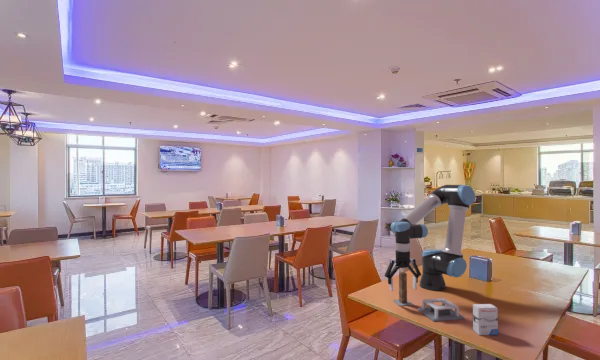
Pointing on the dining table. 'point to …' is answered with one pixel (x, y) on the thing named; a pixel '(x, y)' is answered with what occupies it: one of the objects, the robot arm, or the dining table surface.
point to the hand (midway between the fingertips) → (403, 289)
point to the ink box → (485, 319)
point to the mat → (403, 303)
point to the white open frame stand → (440, 310)
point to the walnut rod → (402, 287)
